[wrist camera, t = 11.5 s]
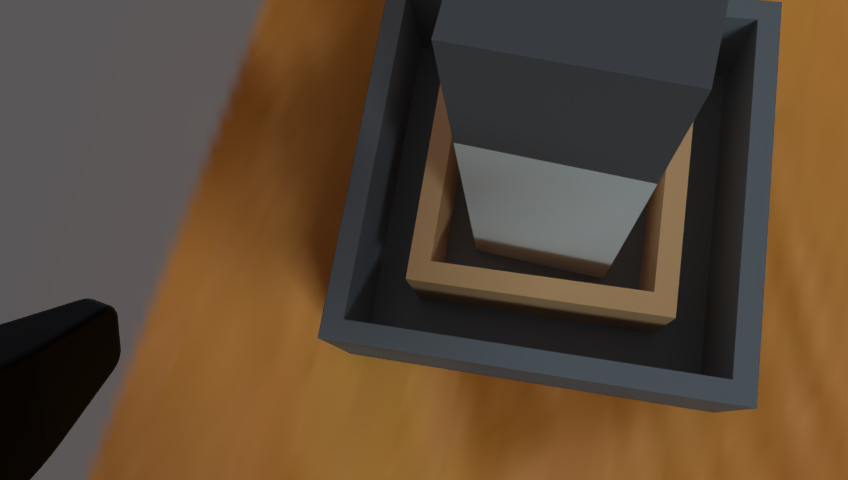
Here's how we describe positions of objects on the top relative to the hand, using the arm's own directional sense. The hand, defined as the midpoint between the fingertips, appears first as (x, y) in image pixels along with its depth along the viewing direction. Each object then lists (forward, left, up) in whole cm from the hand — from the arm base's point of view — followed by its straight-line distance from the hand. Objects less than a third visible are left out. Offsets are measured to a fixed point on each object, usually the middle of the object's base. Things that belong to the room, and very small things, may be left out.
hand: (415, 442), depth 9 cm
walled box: (+8, -1, -14) cm, 16 cm away
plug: (+8, -1, -13) cm, 15 cm away
